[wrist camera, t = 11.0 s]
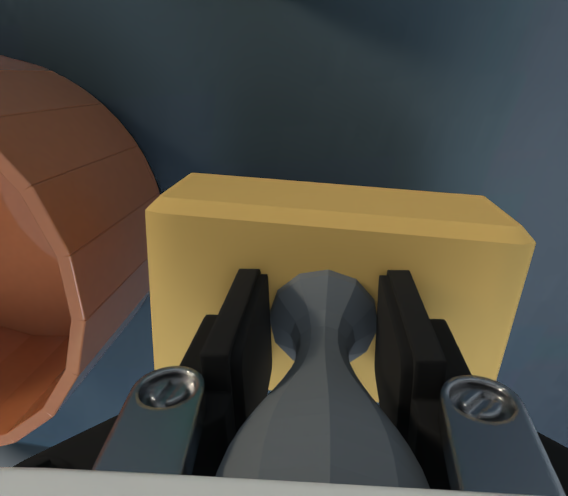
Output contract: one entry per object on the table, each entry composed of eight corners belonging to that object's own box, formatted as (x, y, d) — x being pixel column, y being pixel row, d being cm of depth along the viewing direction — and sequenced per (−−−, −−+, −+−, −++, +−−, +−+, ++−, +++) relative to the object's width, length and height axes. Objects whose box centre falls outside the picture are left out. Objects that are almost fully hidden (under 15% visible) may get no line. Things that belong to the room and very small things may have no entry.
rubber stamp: (188, 320, 17) (-88, 804, 6) (184, 169, 15) (-271, 468, 4) (454, 347, 16) (734, 954, 5) (490, 193, 14) (1123, 656, 3)
